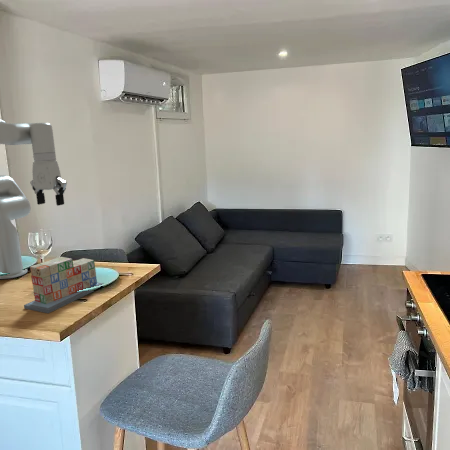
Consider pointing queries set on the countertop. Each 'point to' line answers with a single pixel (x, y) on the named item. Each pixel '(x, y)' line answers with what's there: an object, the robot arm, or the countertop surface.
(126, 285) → the countertop surface
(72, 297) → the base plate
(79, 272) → the stack of blocks
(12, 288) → the countertop surface
